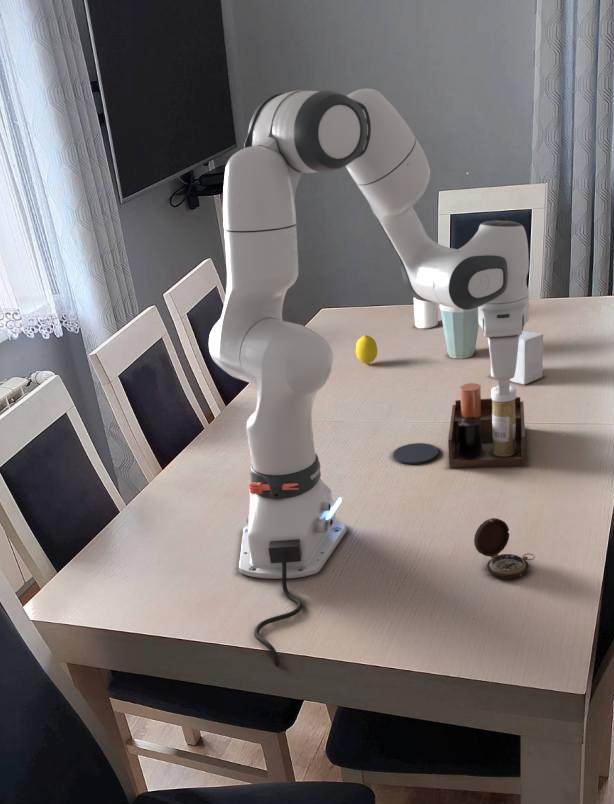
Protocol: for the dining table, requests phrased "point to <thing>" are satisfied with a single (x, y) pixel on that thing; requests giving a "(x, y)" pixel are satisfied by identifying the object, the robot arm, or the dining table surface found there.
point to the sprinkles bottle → (503, 422)
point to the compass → (499, 550)
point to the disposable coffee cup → (460, 330)
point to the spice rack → (486, 436)
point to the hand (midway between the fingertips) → (504, 384)
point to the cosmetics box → (528, 358)
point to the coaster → (415, 453)
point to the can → (425, 314)
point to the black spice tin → (470, 437)
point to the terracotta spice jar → (470, 400)
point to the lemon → (366, 349)
